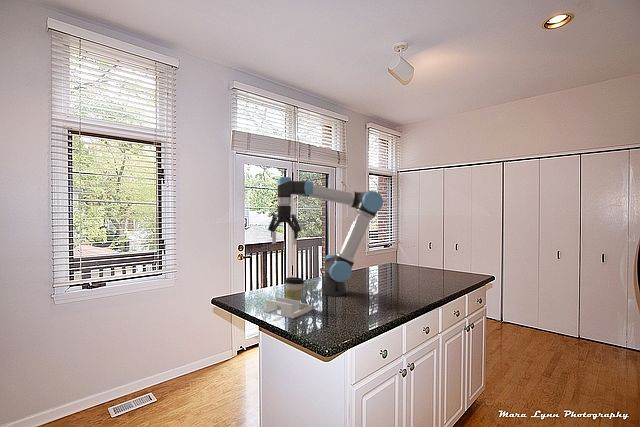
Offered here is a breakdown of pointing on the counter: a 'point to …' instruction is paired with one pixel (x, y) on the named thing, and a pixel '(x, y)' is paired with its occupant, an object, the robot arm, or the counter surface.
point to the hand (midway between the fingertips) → (284, 244)
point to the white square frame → (287, 308)
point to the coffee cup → (294, 288)
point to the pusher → (295, 303)
